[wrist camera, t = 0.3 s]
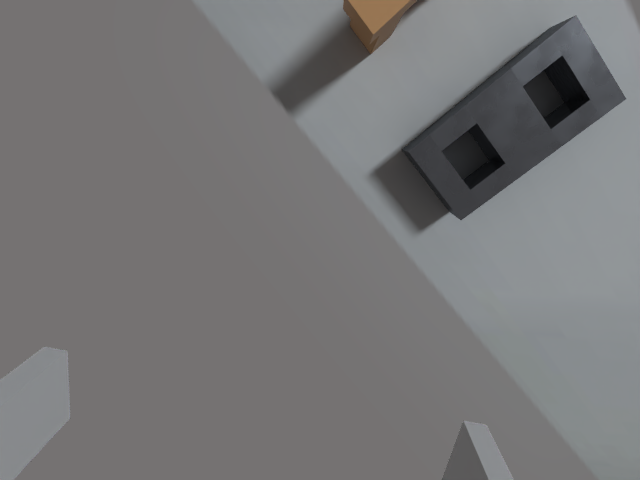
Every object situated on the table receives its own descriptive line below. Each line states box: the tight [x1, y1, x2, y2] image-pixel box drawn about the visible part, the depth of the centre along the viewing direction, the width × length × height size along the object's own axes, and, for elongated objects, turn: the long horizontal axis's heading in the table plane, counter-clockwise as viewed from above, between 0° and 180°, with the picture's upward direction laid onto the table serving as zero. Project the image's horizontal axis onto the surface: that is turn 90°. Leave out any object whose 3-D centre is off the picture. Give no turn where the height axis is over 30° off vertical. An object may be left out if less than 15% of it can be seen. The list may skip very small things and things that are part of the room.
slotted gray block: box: [402, 16, 626, 220], centre depth 33 cm, size 16×8×4 cm, turn 130°
